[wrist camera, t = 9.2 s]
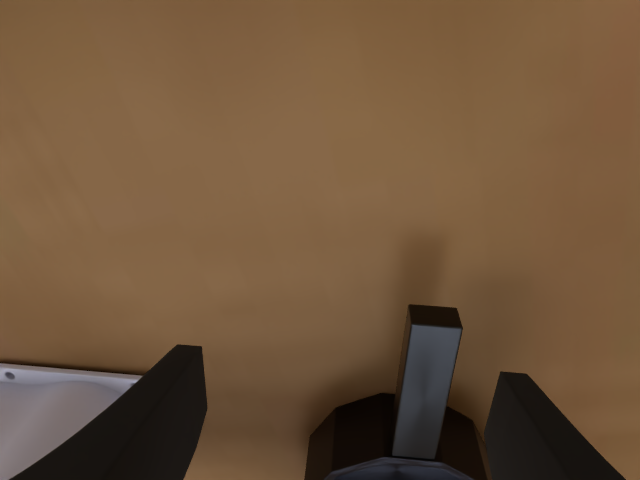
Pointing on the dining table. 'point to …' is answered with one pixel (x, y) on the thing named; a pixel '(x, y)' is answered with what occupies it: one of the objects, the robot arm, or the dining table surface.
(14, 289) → the dining table surface
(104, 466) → the robot arm
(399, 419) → the pan
